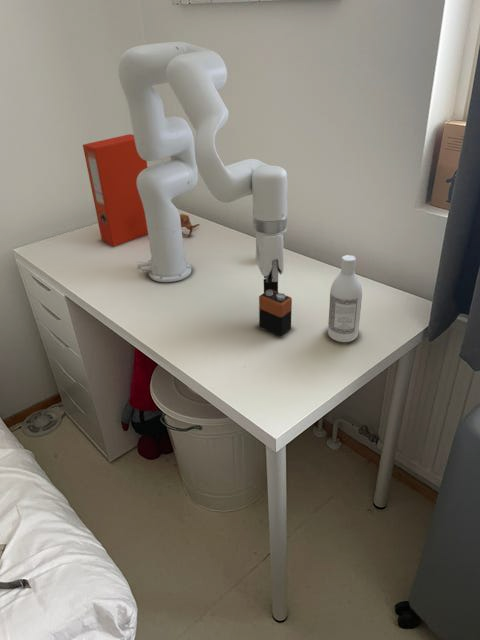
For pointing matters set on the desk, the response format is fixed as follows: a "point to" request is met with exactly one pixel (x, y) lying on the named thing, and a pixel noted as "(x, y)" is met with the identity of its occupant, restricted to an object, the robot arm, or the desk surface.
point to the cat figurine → (187, 223)
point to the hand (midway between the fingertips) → (270, 294)
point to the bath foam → (345, 303)
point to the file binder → (116, 188)
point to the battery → (275, 312)
